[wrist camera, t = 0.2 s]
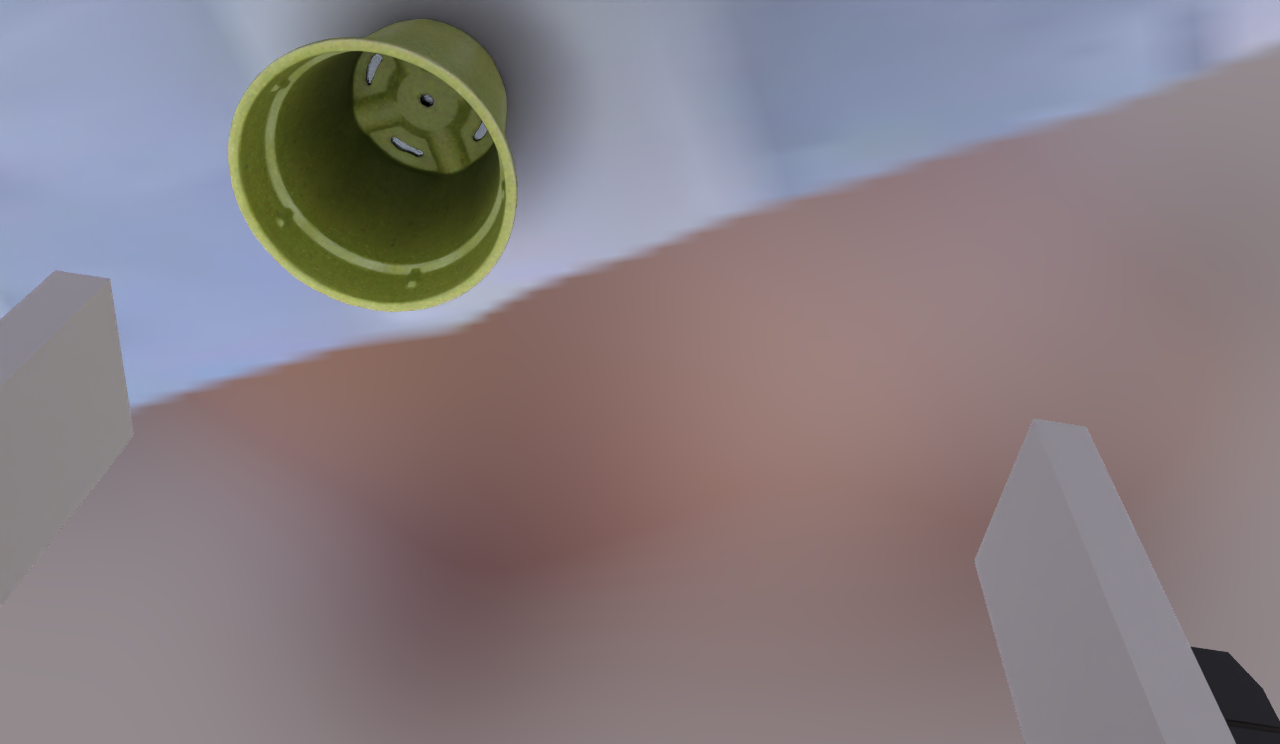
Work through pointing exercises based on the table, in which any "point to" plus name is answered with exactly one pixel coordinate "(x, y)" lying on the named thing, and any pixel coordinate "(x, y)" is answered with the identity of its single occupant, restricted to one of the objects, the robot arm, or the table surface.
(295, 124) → the plant pot
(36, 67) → the table surface
